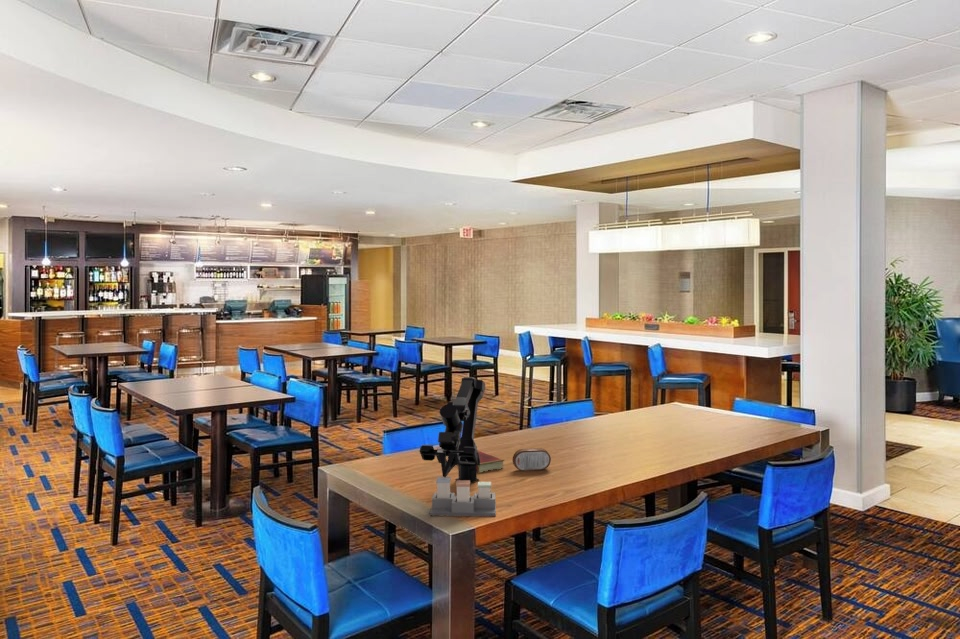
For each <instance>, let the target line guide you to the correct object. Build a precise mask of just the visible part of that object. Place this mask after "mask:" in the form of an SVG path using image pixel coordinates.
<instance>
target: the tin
mask: <svg viewBox="0 0 960 639" xmlns="http://www.w3.org/2000/svg"><path fill="white" fill-rule="evenodd" d="M551 460H552V457H551V455H550V453H549V452H548V451H547V450H546V449H545V448H542V447H541V448H539V447H537V448H520V449H517V450H516V451H515V452H514V453H513V455H512V464H513V466H514V467H515V468H516V469H517V470H519V471H520V472H530V471H531V472H532V471H533V472H534V470H536V471H544V470H546V469H548V468H549V467H550V465H551V462H552V461H551Z"/></svg>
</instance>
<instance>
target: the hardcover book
mask: <svg viewBox="0 0 960 639" xmlns="http://www.w3.org/2000/svg"><path fill="white" fill-rule="evenodd" d="M477 450H478V453H479V456H480V465H477V466H476V470H477V473H478V472H480V473H484V472H483V471H485V472H489V471H488V470H491V471H494V470H493V469H497V470H502V469H501V468H503V469H504V462H505V459H503V458H501V457H498V456H496V455H493V454H490V453H487V452H485V451H482V450H480V449H477Z"/></svg>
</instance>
